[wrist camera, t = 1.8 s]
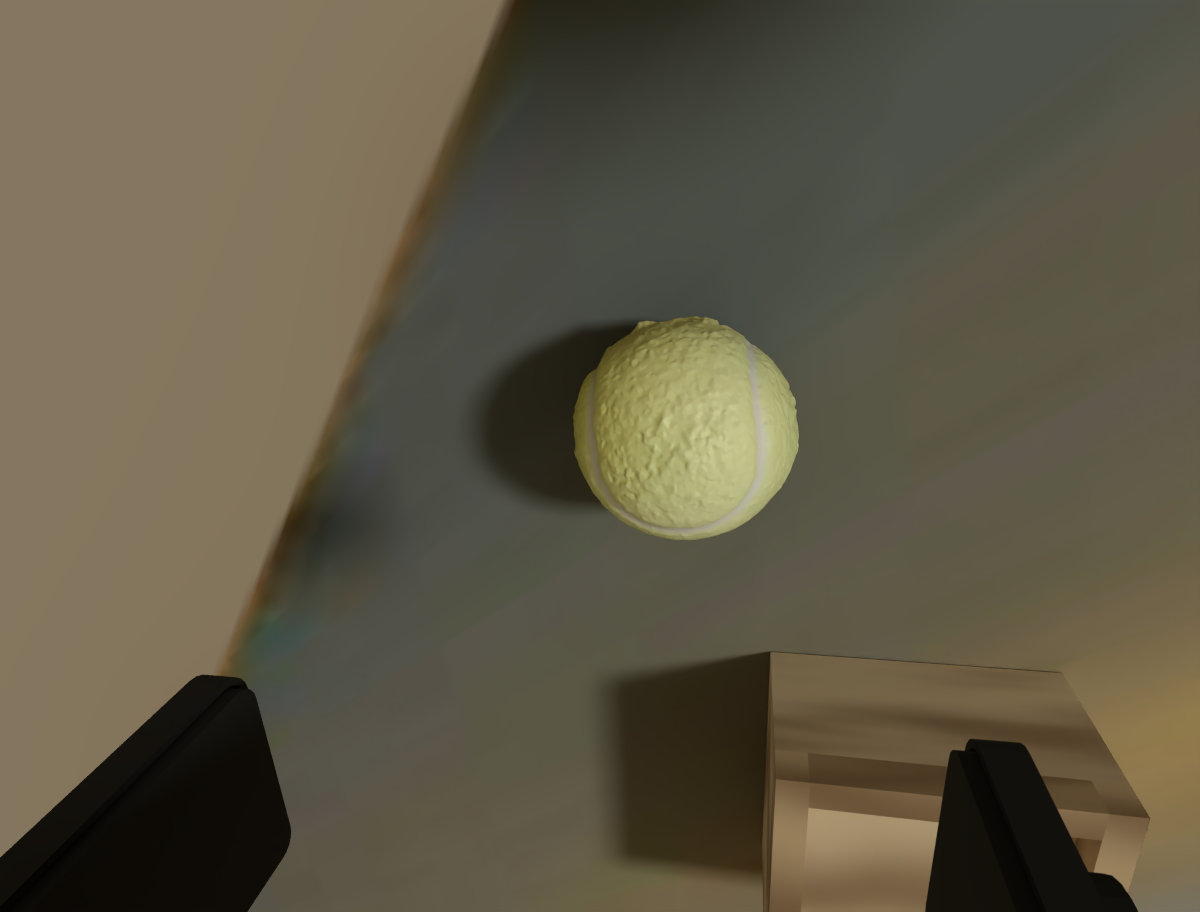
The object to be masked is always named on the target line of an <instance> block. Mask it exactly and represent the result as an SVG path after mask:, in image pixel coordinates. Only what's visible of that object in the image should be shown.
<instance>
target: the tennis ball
mask: <svg viewBox="0 0 1200 912" xmlns="http://www.w3.org/2000/svg"><path fill="white" fill-rule="evenodd" d="M795 405H796V401H795V398H794V397H793V396H792V393H791V391H790V390H789V384H788V382H787V381H786V379H785V378H784V376H783V375H782V373H781V371H780V370H779V369H778V368H777V366H776V365H775V364H774V363H773V361H772V360H771V359H770V358H769V357H768V356H767V355H766V354H765V353H763V352H762V351H761V350H760V349H758V348H757V347H756V346H754V345H751V344H750V343H749V342H748V341H747V340H746V339H745V337H744V336H742V335H741V334H740V333H738V332H736V331H734V330H732V329H731V328H730V327H728V326H725V325H719V323H718V321H717V320H714V319H710V318H707V317H701V318H700V317H697V316H693V317H687V318H686V317H685V318H678V319H677V318H675V319H672V320H670V321H664V322H653V321H643V322H639V323H638V324H637V326H636V328H635V329H634V330H633V331H632V332H631V333H630V334H629V335H627V336H625V337H624V338H622V339H620V340H619V341H618V342H617V343H615V344H614V345H613V346H610V347H608V348H607V349H606V351H605V353H604V355H603V356H602V358H601V361H600V363H599V365H598V367H597V369H595V370H593V371H592V372H591V373H589V374H588V375H587V377H586V378H585V379H584V380H583V384H582V386H581V388H580V392H579V395H578V399H577V402H576V405H575V407H574V408H575V412H574V415H573V420H574V422H573V424H574V437H575V451H574V454H575V456H576V458H577V460H578V464H579V467H580V469H581V471H582V473H583V476H584V477H585V479H586V481H587V483H588V484H589V486H590V488H591V490H592V492H593V493H594V495H595V496H596V497H597V498H598V499H599V500H600V502H601V504H602V505H603V506H604V507H605V508H606V509H608V510H609V511H610V512H611V513H612V514H614V515H615V516H616V517H617V518H618V519H619V520H620V521H622V522H623V523H625V524H628V525H629V526H631V527H633V528H636V529H638V530H640V531H642V532H644V533H648V534H651V535H654V536H658V537H663V538H666V539H675V540H684V539H685V540H695V539H701V538H707V537H712V536H716V535H720V534H721V533H725V532H728V531H730V530H732V529H735V528H737V527H738V526H740V525H742V524H744V523H745V522H747V521H748V520H750V519H751V518H752V517H753V516H755V515H756V514H757V513H758V512H759V511H760V510H761V509H763V507H764V506H766V505H767V503H768V502H769V500H770V499H771V498H772V497H773V496H774V495H775V494H776V492H777V491H778V490H780V489H781V487H782V484H783V483H784V482H785V480H786V478H787V476H788V474H789V472H790V470H791V467H792V464H793V461H794V459H795V456H796V454H797V452H798V447H799V444H798V438H799V434H798V424H797V420H796V412H797V410H796V409H795Z"/></svg>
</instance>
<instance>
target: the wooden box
mask: <svg viewBox="0 0 1200 912" xmlns="http://www.w3.org/2000/svg"><path fill="white" fill-rule="evenodd" d="M969 739H983V740H995V741H1007V742H1019V743H1022V744H1023V745H1025V746H1026V748H1027V750H1028V751H1029V753H1030V755H1031V757H1032V759H1033V761H1034V763H1035V765H1036V767H1037V769H1038V771H1039V773H1040V775H1041V777H1042V779H1043V781H1044V783H1045V785H1046V787H1047V789H1048V791H1049V793H1050V795H1051V797H1052V799H1053V801H1054V803H1055V805H1056V807H1057V809H1058V811H1059V813H1060V815H1061V817H1062V820H1063V822H1064V824H1065V826H1066V828H1067V830H1068V832H1069V834H1070V836H1071V838H1072V840H1073V842H1074V844H1075V846H1076V848H1077V850H1078V852H1079V854H1080V856H1081V858H1082V860H1083V862H1084V864H1085V866H1086V868H1087V870H1088V872H1095V873H1104V874H1108V875H1112V876H1113V877H1114V878H1116V879H1117V880H1118V881H1119V882H1120V883H1121V884H1122V885H1123V887H1124V888H1125V890H1126V891H1127V893H1128V890H1129V886H1130V883H1131V880H1132V877H1133V873H1134V870H1135V867H1136V864H1137V860H1138V857H1139V854H1140V851H1141V847H1142V844H1143V841H1144V838H1145V834H1146V831H1147V828H1148V825H1149V821H1150V817H1149V815H1148V814H1147V812H1146V810H1145V809H1144V807H1143V806H1142V804H1141V802H1140V801H1139V799H1138V797H1137V796H1136V794H1135V792H1134V791H1133V789H1132V787H1131V786H1130V784H1129V782H1128V781H1127V779H1126V777H1125V776H1124V774H1123V772H1122V771H1121V769H1120V767H1119V766H1118V764H1117V763H1116V761H1115V759H1114V758H1113V756H1112V754H1111V753H1110V751H1109V749H1108V748H1107V746H1106V744H1105V743H1104V741H1103V739H1102V738H1101V736H1100V734H1099V733H1098V731H1097V729H1096V728H1095V726H1094V724H1093V723H1092V721H1091V720H1090V718H1089V716H1088V715H1087V713H1086V711H1085V710H1084V708H1083V706H1082V705H1081V703H1080V701H1079V700H1078V698H1077V696H1076V695H1075V693H1074V691H1073V690H1072V688H1071V686H1070V685H1069V683H1068V681H1067V680H1066V678H1065V677H1064V675H1063V673H1055V672H1041V671H1027V670H1014V669H1000V668H986V667H972V666H958V665H945V664H931V663H917V662H903V661H889V660H876V659H862V658H848V657H834V656H820V655H807V654H793V653H779V652H771V653H770V676H769V699H768V722H767V745H766V768H765V791H764V814H763V837H762V864H763V912H925V908H926V900H927V893H928V887H929V881H930V874H931V868H932V862H933V855H934V849H935V843H936V836H937V830H938V823H939V817H940V811H941V804H942V798H943V792H944V785H945V779H946V773H947V766H948V760H949V755H950V752H951V751H952V750H962V751H965V747H966V743H967V742H968V740H969Z"/></svg>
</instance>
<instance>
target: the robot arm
mask: <svg viewBox="0 0 1200 912" xmlns="http://www.w3.org/2000/svg"><path fill="white" fill-rule="evenodd" d="M290 838H291V827H290V823H289V819H288V815H287V811H286V808H285V804H284V800H283V796H282V793H281V789H280V785H279V781H278V778H277V774H276V770H275V766H274V763H273V759H272V755H271V752H270V748H269V744H268V740H267V737H266V733H265V729H264V725H263V722H262V718H261V714H260V710H259V707H258V703H257V699H256V696H255V694H254V692H253V691H251V690H249V689H248V687H247V685H246V683H245V682H244V681H243V680H242V679H241V678H236V677H225V676H213V675H200V676H196V677H195V678H193V679H192V680H191V681H189V682H188V683H187V684H186V685H185V686H184V687H183V688H182V689H181V690H180V691H179V692H178V693H176V694H175V695H174V696H173V697H172V698H171V699H170V700H169V701H168V702H167V703H166V704H165V705H164V706H162V707H161V708H160V709H159V710H158V711H157V712H156V713H155V714H154V715H153V716H152V717H151V718H150V719H148V720H147V721H146V722H145V723H144V724H143V725H142V726H141V727H140V728H139V729H138V730H137V731H136V732H135V733H133V734H132V735H131V736H130V737H129V738H128V739H127V740H126V741H125V742H124V743H123V744H122V745H121V746H120V747H118V748H117V749H116V750H115V751H114V752H113V753H112V754H111V755H110V756H109V757H108V758H107V759H106V760H105V761H104V762H102V763H101V764H100V765H99V766H98V767H97V768H96V769H95V770H94V771H93V772H92V773H91V774H89V775H88V776H87V777H86V778H85V779H84V780H83V781H82V782H81V783H80V784H79V785H78V786H77V787H76V788H75V789H73V790H72V791H71V792H70V793H69V794H68V795H67V796H66V797H65V798H64V799H63V800H62V801H61V802H59V803H58V804H57V805H56V806H55V807H54V808H53V809H52V810H51V811H50V812H49V813H48V814H47V815H45V817H43V818H42V819H41V820H40V821H39V822H38V823H37V824H36V825H35V826H34V827H33V828H32V829H31V830H29V831H28V832H27V833H26V834H25V835H24V836H23V837H22V838H21V839H20V840H19V841H18V842H17V843H16V844H14V845H13V846H12V848H10V849H9V850H8V851H7V852H6V853H5V854H4V855H3V856H2V857H0V912H248V910H249V909H250V907H251V905H252V904H253V902H254V901H255V899H256V898H257V896H258V895H259V893H260V892H261V890H262V889H263V887H264V886H265V884H266V883H267V881H268V880H269V878H270V877H271V875H272V874H273V872H274V871H275V869H276V868H277V866H278V865H279V863H280V862H281V860H282V859H283V857H284V855H285V853H286V851H287V849H288V846H289V843H290ZM925 912H1138V910H1137V908H1136V907H1135V905H1134V903H1133V901H1132V899H1131V898H1130V896H1129V894H1128V893H1127V891H1126V890H1125V888H1124V887H1123V885H1122V884H1121V883H1120V882H1119V881H1118V880H1117V879H1116V878H1114V877H1113V876H1112V875H1108V874H1104V873H1095V872H1088V870H1087V868H1086V866H1085V864H1084V862H1083V860H1082V858H1081V856H1080V854H1079V852H1078V850H1077V848H1076V846H1075V844H1074V842H1073V840H1072V838H1071V836H1070V834H1069V832H1068V830H1067V828H1066V826H1065V824H1064V822H1063V820H1062V817H1061V815H1060V813H1059V811H1058V809H1057V807H1056V805H1055V803H1054V801H1053V799H1052V797H1051V795H1050V793H1049V791H1048V789H1047V787H1046V785H1045V783H1044V781H1043V779H1042V777H1041V775H1040V773H1039V771H1038V769H1037V767H1036V765H1035V763H1034V761H1033V759H1032V757H1031V755H1030V753H1029V751H1028V750H1027V748H1026V746H1025V745H1023V744H1022V743H1019V742H1007V741H995V740H983V739H969V740H968V742H967V743H966V747H965V751H962V750H952V751H951V752H950V755H949V760H948V766H947V773H946V779H945V785H944V792H943V798H942V804H941V811H940V817H939V823H938V830H937V836H936V843H935V849H934V855H933V862H932V868H931V874H930V881H929V887H928V893H927V900H926V908H925Z"/></svg>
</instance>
